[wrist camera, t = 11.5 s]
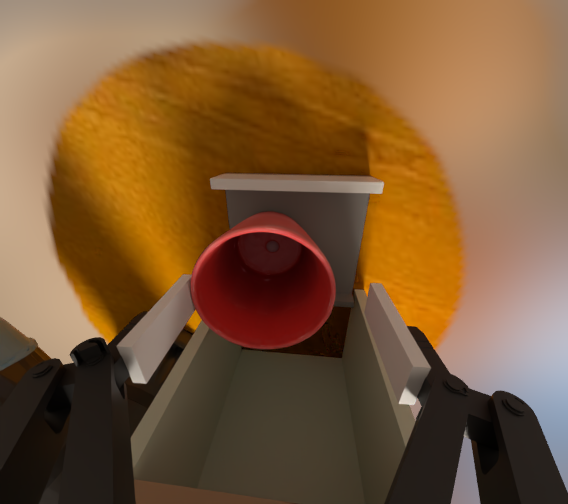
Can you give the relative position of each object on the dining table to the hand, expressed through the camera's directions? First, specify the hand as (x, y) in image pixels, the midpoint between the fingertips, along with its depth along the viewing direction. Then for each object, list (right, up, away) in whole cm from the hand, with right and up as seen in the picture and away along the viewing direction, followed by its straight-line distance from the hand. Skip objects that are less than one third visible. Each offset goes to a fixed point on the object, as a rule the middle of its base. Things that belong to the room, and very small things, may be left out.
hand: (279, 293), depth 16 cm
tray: (+2, +5, +9) cm, 10 cm away
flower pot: (-1, +4, +8) cm, 9 cm away
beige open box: (+1, -7, +15) cm, 16 cm away
